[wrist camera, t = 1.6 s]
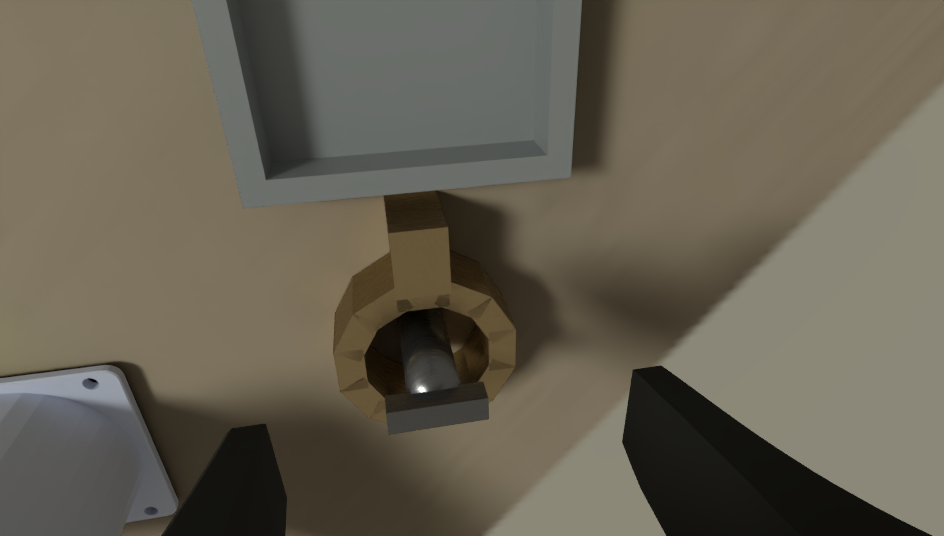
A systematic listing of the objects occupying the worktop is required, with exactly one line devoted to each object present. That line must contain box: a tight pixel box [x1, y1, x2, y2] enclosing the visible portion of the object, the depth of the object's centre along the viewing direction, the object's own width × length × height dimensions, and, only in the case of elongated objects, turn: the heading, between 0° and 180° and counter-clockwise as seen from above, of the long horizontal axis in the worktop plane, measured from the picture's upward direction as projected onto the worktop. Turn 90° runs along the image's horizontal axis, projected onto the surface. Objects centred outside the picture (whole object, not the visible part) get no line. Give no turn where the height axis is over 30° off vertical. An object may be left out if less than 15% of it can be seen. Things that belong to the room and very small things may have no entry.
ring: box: [333, 190, 516, 423], centre depth 21 cm, size 6×9×3 cm
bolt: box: [385, 307, 489, 435], centre depth 20 cm, size 3×2×5 cm, turn 91°
